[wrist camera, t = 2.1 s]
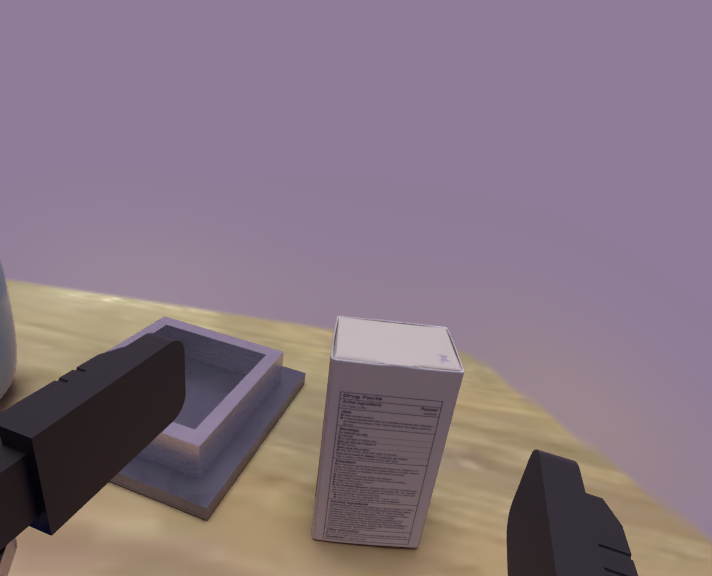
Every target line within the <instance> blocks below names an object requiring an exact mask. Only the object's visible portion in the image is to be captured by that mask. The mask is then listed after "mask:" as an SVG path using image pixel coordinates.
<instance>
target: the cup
mask: <svg viewBox="0 0 712 576" xmlns="http://www.w3.org/2000/svg"><path fill="white" fill-rule="evenodd" d="M16 363H17V344H16V333H15V325H14V319H13V313H12V308H11V302H10V297H9V292H8V287H7V283H6V278H5V274H4V270H3V266H2V264H1V261H0V399H1V398H2V397H3V396H4V395H5V393H6V392H7V390H8V389H9V387H10V385H11V383H12V381H13V378H14V375H15V371H16Z"/></svg>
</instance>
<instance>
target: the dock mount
mask: <svg viewBox="0 0 712 576" xmlns="http://www.w3.org/2000/svg"><path fill="white" fill-rule="evenodd" d="M147 333H154V334H158V335H161V336H164V337H168V338H171V339H174V340H178V341H180V342H182V344H183V345H184V349H185V385H186V396H185V401H184V405H183V407H182V409H181V411H180V413H179V415H178V416H177V418H176V419H175V420H174V421H173V422H172V423H171V424H170V425H169V426H168V427H167V428H166V429H165V430H163V431H162V432H161V433H160V434H159V435H158V436H157V437H156V438H155V439H154V440H153V441H152V442H151V443H150V444H149V445H148V446H146V447H145V448H144V449H143V450H142V451H141V452H140V453H139V454H138V455H137V456H136V457H135V458H134V459H133V460H132V461H131V462H129V463H128V464H127V465H126V466H125V467H124V468H123V469H122V470H121V471H120V472H119V473H118V474H117V475H116V476H115V477H114V478H112V479H111V480H110V481H109V482H112V483H114V484H117V485H119V486H122V487H124V488H127V489H129V490H132V491H134V492H137V493H139V494H142V495H144V496H147V497H149V498H152V499H154V500H157V501H159V502H162V503H164V504H167V505H169V506H172V507H174V508H177V509H179V510H182V511H184V512H187V513H189V514H191V515H194V516H196V517H199V518H201V519H204V520H206V521H207V520H208V518H209V517H210V515H211V514H212V513H213V511H214V510H215V508H216V507H217V505H218V504H219V503H220V501H221V500H222V498H223V497H224V496H225V494H226V493H227V491H228V490H229V489H230V487H231V486H232V484H233V483H234V482H235V480H236V479H237V477H238V476H239V474H240V473H241V472H242V470H243V469H244V467H245V466H246V465H247V463H248V462H249V460H250V459H251V458H252V456H253V455H254V453H255V452H256V451H257V449H258V448H259V446H260V445H261V443H262V442H263V441H264V439H265V438H266V436H267V435H268V434H269V432H270V431H271V429H272V428H273V427H274V425H275V424H276V422H277V421H278V420H279V418H280V417H281V415H282V414H283V412H284V411H285V410H286V408H287V407H288V405H289V404H290V403H291V401H292V400H293V398H294V397H295V396H296V394H297V393H298V391H299V390H300V388H301V387H302V386H303V384H304V382H305V373H303V372H299V371H296V370H293V369H290V368H286V367H283V366H282V364H283V353H284V352H282V351H279V350H275V349H272V348H269V347H265V346H262V345H258V344H255V343H252V342H248V341H245V340H242V339H238V338H235V337H232V336H228V335H225V334H221V333H218V332H215V331H211V330H208V329H205V328H201V327H198V326H195V325H191V324H188V323H184V322H181V321H178V320H174V319H171V318H168V317H163V318H161V319H159V320H158V321H156V322H154V323H153V324H151V325H150V326H148V327H146V328H145V329H143V330H141V331H140V332H138V333H136V334H135V335H133V336H131V337H130V338H128V339H127V340H125V341H123V342H122V343H120V344H118V345H117V346H115V347H113V348H112V349H110V350H108V351H111V350H114V349H117V348H121V347H125V346H127V345H129V344H130V343H132V342H133V341H135V340H137V339H138V338H140V337H142V336H143V335H145V334H147ZM108 351H107V352H108Z"/></svg>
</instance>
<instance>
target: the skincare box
mask: <svg viewBox="0 0 712 576" xmlns="http://www.w3.org/2000/svg"><path fill="white" fill-rule="evenodd" d="M463 374H464V369H463V367H462V364H461V361H460V358H459V355H458V352H457V350H456V347H455V344H454V342H453V339H452V338H451V335H450V333H449V331H448V329H447V328H446V327H441V326H432V325H425V324H415V323H406V322H397V321H387V320H376V319H366V318H356V317H346V316H337V319H336V324H335V329H334V334H333V340H332V348H331V356H330V366H329V376H328V385H327V395H326V404H325V413H324V422H323V431H322V441H321V450H320V459H319V468H318V476H317V485H316V495H315V505H314V514H313V524H312V537H313V538H314V539H316V540H324V541H333V542H342V543H354V544H366V545H379V546H394V547H412V548H417V547H418V545H419V542H420V538H421V534H422V531H423V527H424V523H425V519H426V515H427V511H428V508H429V504H430V500H431V496H432V493H433V489H434V485H435V481H436V477H437V474H438V470H439V466H440V462H441V458H442V455H443V451H444V447H445V443H446V438H447V435H448V431H449V427H450V424H451V420H452V416H453V412H454V408H455V405H456V401H457V397H458V393H459V389H460V386H461V382H462V378H463Z"/></svg>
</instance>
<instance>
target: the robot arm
mask: <svg viewBox="0 0 712 576" xmlns="http://www.w3.org/2000/svg"><path fill="white" fill-rule="evenodd" d="M185 396H186V385H185V349H184V345H183V344H182V342H180V341H178V340H174V339H171V338H168V337H164V336H161V335H158V334H154V333H147V334H145V335H143V336H142V337H140V338H138V339H137V340H135V341H133V342H132V343H130V344H129V345H127V346H125V347H121V348H117V349H114V350H111V351H108V352H105V353H102V354H99V355H97V356H95V357H94V358H92V359H90V360H89V361H87V362H85V363H83V364H82V365H80V366H78V367H77V369H76V370H72V371H70V372H68V373H67V374H65V375H63V376H62V377H60V378H59V380H58V381H53V382H51V383H50V384H48V385H46V386H45V387H43V388H41V389H40V390H38V391H36V392H35V393H33V394H31V395H30V396H28V397H26V398H24V399H23V400H21V401H19V402H18V403H16V404H14V405H13V406H11V407H9V408H8V409H6V410H4V411H3V412H1V413H0V576H8V573H9V570H10V567H11V564H12V561H13V558H14V555H15V552H16V548H17V540H16V537H17V536H18V535H19V534H20V533H21V532H22V531H23V530H25V529H26V528H27V527H28V526H31V527H33V528H35V529H37V530H40V531H42V532H44V533H46V534H49V535H51V536H52V535H53V534H54V533H55V532H56V531H57V530H58V529H59V528H60V527H61V526H62V525H64V524H65V523H66V522H67V521H68V520H69V519H70V518H71V517H72V516H73V515H74V514H75V513H76V512H77V511H78V510H79V509H81V508H82V507H83V506H84V505H85V504H86V503H87V502H88V501H89V500H90V499H91V498H92V497H93V496H94V495H95V494H96V493H98V492H99V491H100V490H101V489H102V488H103V487H104V486H105V485H106V484H107V483H108V482H109V481H110V480H111V479H112V478H114V477H115V476H116V475H117V474H118V473H119V472H120V471H121V470H122V469H123V468H124V467H125V466H126V465H127V464H128V463H129V462H131V461H132V460H133V459H134V458H135V457H136V456H137V455H138V454H139V453H140V452H141V451H142V450H143V449H144V448H145V447H146V446H148V445H149V444H150V443H151V442H152V441H153V440H154V439H155V438H156V437H157V436H158V435H159V434H160V433H161V432H162V431H163V430H165V429H166V428H167V427H168V426H169V425H170V424H171V423H172V422H173V421H174V420H175V419H176V418H177V416H178V415H179V413H180V411H181V409H182V407H183V405H184V401H185ZM507 564H508V576H638V574H637V571H636V568H635V565H634V561H633V560H631V552H630V549H629V546H628V543H627V539H626V536H625V533H624V530H623V527H622V525H621V524H620V522H619V521H618V519H617V518H616V517H615V515H614V514H613V512H612V511H611V510H610V508H609V507H608V505H607V504H606V503H605V501H604V500H603V498H599V497H596V496H593V495H590V494H587V493H585V489H584V485H583V481H582V477H581V473H580V469H579V466H578V464H577V462H576V461H573V460H570V459H566V458H563V457H560V456H556V455H553V454H550V453H546V452H543V451H540V450H534V451H533V452H532V454H531V456H530V458H529V461H528V464H527V466H526V469H525V471H524V474H523V476H522V479H521V481H520V484H519V487H518V489H517V492H516V494H515V497H514V499H513V502H512V505H511V508H510V512H509V517H508V524H507Z"/></svg>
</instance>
